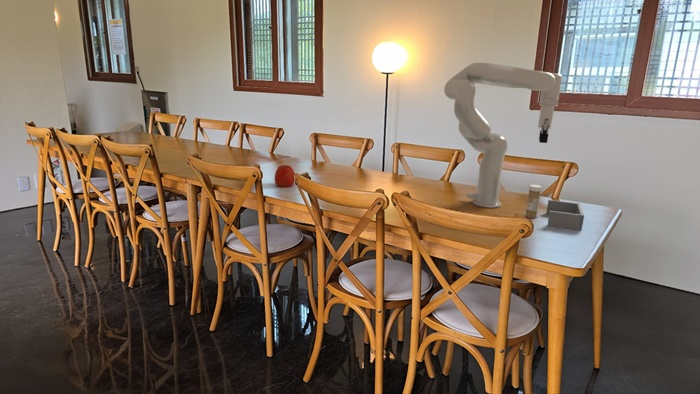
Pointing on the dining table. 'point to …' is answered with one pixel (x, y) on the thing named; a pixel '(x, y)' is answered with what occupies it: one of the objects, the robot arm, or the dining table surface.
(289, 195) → the dining table surface
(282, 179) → the apple
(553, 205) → the open-side box
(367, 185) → the dining table surface
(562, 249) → the dining table surface
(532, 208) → the sprinkles bottle
